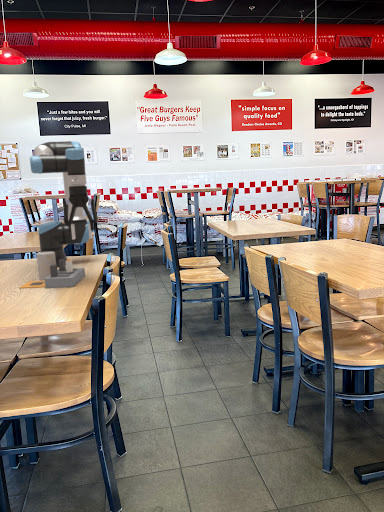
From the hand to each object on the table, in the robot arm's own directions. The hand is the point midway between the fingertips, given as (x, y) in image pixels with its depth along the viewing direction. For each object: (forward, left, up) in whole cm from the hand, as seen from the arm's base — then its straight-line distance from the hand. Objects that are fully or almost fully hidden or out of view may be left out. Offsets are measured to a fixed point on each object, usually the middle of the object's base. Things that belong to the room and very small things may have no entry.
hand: (82, 238), depth 187 cm
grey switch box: (0, -9, -19) cm, 21 cm away
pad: (+3, -21, -19) cm, 28 cm away
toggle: (0, -7, -15) cm, 16 cm away
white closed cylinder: (-9, -20, -19) cm, 29 cm away
